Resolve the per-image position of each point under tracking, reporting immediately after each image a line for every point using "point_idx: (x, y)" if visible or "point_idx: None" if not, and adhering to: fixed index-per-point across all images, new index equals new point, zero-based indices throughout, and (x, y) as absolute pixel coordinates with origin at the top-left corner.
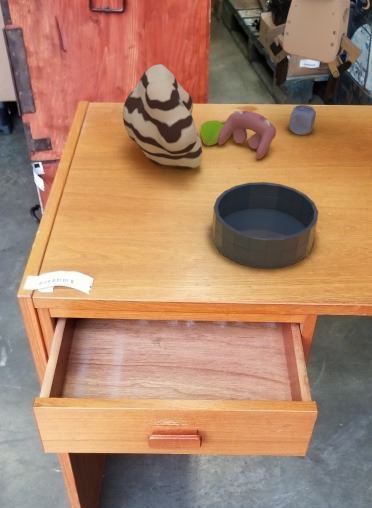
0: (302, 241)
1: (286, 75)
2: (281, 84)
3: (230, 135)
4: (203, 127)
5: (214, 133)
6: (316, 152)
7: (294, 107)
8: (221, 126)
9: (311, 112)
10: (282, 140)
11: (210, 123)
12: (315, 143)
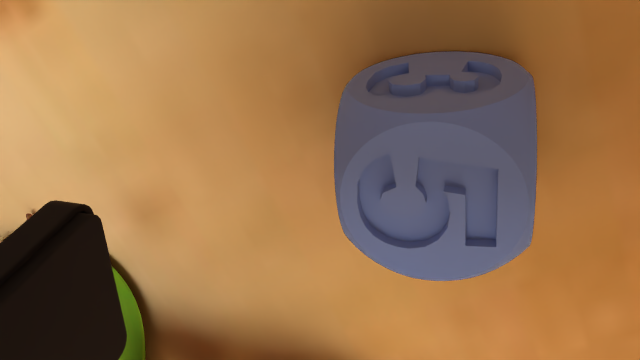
0: None
1: (62, 252)
2: (119, 303)
3: (143, 356)
4: None
5: None
6: (619, 342)
7: (336, 191)
8: None
9: (511, 235)
10: (379, 279)
11: None
12: (591, 251)
